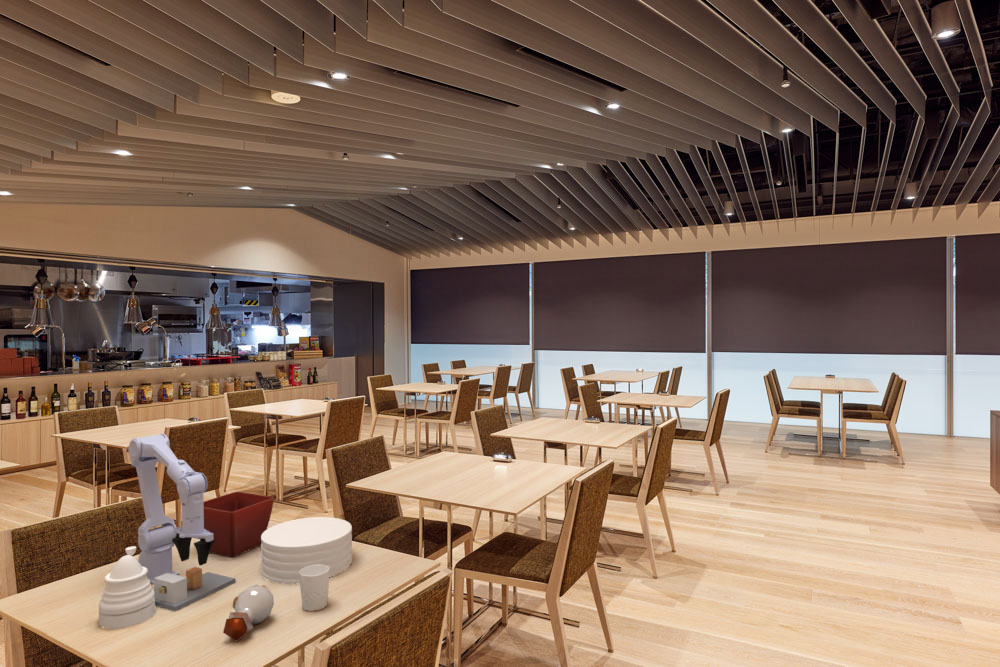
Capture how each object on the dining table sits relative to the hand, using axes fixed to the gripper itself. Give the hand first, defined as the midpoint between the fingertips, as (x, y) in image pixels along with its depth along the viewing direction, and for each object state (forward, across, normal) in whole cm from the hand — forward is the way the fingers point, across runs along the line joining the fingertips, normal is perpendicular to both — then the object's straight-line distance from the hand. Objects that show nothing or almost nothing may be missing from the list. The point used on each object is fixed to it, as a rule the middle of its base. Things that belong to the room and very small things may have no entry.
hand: (193, 562), depth 176 cm
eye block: (+9, 0, 0) cm, 9 cm away
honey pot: (+9, -3, -18) cm, 20 cm away
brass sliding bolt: (+7, 0, -4) cm, 8 cm away
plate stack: (+9, +17, +28) cm, 34 cm away
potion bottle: (+9, +32, -8) cm, 34 cm away
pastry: (+9, +21, +2) cm, 23 cm away
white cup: (+9, +39, +8) cm, 41 cm away
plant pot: (+9, -17, +30) cm, 35 cm away
